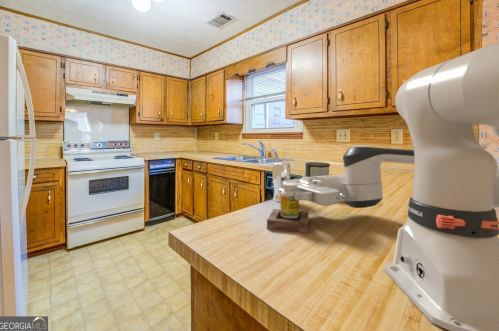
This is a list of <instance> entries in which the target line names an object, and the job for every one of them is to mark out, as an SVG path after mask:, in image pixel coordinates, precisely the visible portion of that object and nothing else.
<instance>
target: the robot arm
mask: <svg viewBox="0 0 499 331" xmlns="http://www.w3.org/2000/svg"><path fill="white" fill-rule="evenodd" d="M394 103H395V109H396V111H397V113H398V114H399V116H400V117H401V118H402V119H403V120H404V122H405V123H406V126H407V127H408V128H407V129H408V131H409V135H410V139H411V142H412V143H411V144H412V148H413V149H401V148H389V147H387V148H386V147H376V146H373V145H367V144H358V145H353V146H350V147H349V148H348V149H347V150H346V151H345V152H344V154H343V156H342V161H343V165H344V169H345V170H344V171H345V173H340V174H339V173H337V174H334V175H332V174H331V175H330V174H329V175H326V176H315V177H311V176H305V175H303V176H302V177H301V178H300V177H299V178H294V179H290V180H286V181H283V182H282V188H281V189H279V194H281V191H283V190H284V189H283V184H284V183H295V184H297V189H296V191H298V192H299V193H294V194H293V199H295V200H299V201H307V202H311V203H313V204H315V205H319V206H323V207H328V206H333V205H337V204H339V203H340V202H343V203H344V204H346V205H347V206H349V207H350V208H355V209H363V208H365V209H366V208H369V207H375V206H377V205H378V204H380V203H381V201H382V200H383V198H384V197H383V196H384V195H383V193H384V192H383V182H382V173H381V171H382V170H381V164H382V163H384V162H386V163H395V164H396V163H397V164H408V165H414V168H413V169H414V171H413V184H412V196H411V197H410V198H409V201H408V204H407V209H408V210H407V216H408V219H407V221H406V222H405V223H404V225H402V226H401V227H399V228H398V231H397V235H396V241H395V242H396V243H395V249H394V250H395V251H394V256H393V260H392V261H390V262H387V263H385V265H384V271H385V272H386V274H388V276H390V278H391V280H393V282H395V284H396V285H398V287H399V289H401V290H402V291H403V293H404V294H405V295H406V296H407V297H408V298H409V299H410V300H411V302H413V303H414V305H416V307H417V308H418V310H420V311H421V312H422V314H423V315H424V316H425V317H426V318H427V319H428V320H429V321H430V322H431V323H432V324H434V325H436V326H438V327H440V328H443V329H445V330H448V331H499V218H498V216H497V210H496V209H495V208H499V163H498V162H497V159H496V158H495V157H494V155H493V154H491V153H490V151H487V150H486V149H485V148H484V147H483V146H482V145H481V144H480V142H479V140H478V138H477V135H476V133H475V128H474V125H481V126H488V127H492V130H493V133H495V134H496V136H497V137H499V42H496V43H492V44H488V45H486V46H484V47H480V48H478V49H475V50H473V51H471V52H468V53H467V52H466V53H465V54H462V55H459V56H456V57H453V58H451V59H447V60H446V61H442V62H440V63H438V64H437V63H436V64H434V65H433V66H429V67H427V68H424V69H422V70H420V71H418V72H416V73H415V74H414V75H413V76H411V77H410V78H408V79H407V80H406V81H405V82H403V83H402V84H401V85H400V86H399V88H398V89H397V91H396V94H395V100H394Z"/></svg>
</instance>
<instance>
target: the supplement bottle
mask: <svg viewBox="0 0 499 331" xmlns="http://www.w3.org/2000/svg"><path fill="white" fill-rule="evenodd" d="M283 189H284V190H283V191H281V202H280V210H281V216H282V217H284V218H289V219H291V218H297V217H298V215H299V211H300V200H295V199H293V194H294V193H299V192H298V191H296V189H297V184H295V183H284V184H283Z"/></svg>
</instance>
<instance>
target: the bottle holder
mask: <svg viewBox="0 0 499 331" xmlns="http://www.w3.org/2000/svg"><path fill="white" fill-rule="evenodd" d="M309 214H310V212H309V211H302V210H301V211H300V210H299V215H298V217H297V218H291V219H289V218H284V217H282V216H281V209H277V208H273V209H272V211H271V212H270V215H269V216H268V218H267V220H266V229H268V230H277V231H285V232H286V231H287V232H295V233H296V232H297V233H305V234H307V233H308V228H309Z"/></svg>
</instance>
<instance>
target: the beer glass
mask: <svg viewBox="0 0 499 331" xmlns="http://www.w3.org/2000/svg"><path fill="white" fill-rule="evenodd" d="M290 178H291V163H290V162H289V163H288V162H273V165H272V181H273V190H274V191H273V192H274V193H273V198H272V199H274V200H273V201H274V202H277V203H281V194H279V189H281V188H282V182H283V181H286V180H291V179H290Z"/></svg>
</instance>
